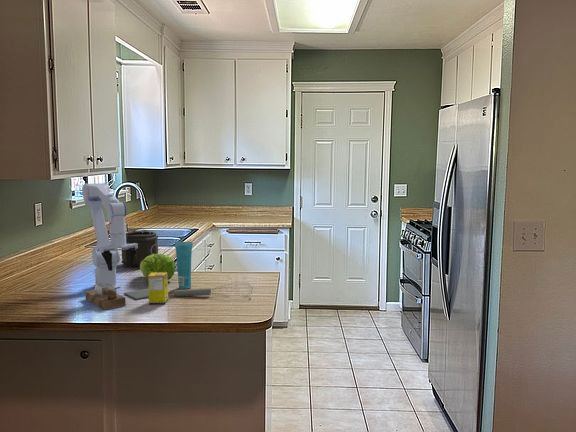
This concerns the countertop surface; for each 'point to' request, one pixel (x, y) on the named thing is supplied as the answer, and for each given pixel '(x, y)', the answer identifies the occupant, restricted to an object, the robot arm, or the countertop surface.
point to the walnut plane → (106, 299)
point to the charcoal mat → (138, 294)
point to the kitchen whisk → (202, 291)
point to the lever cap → (103, 289)
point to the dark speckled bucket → (141, 246)
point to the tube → (184, 263)
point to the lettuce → (158, 265)
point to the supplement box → (158, 288)
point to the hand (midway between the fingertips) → (120, 269)
